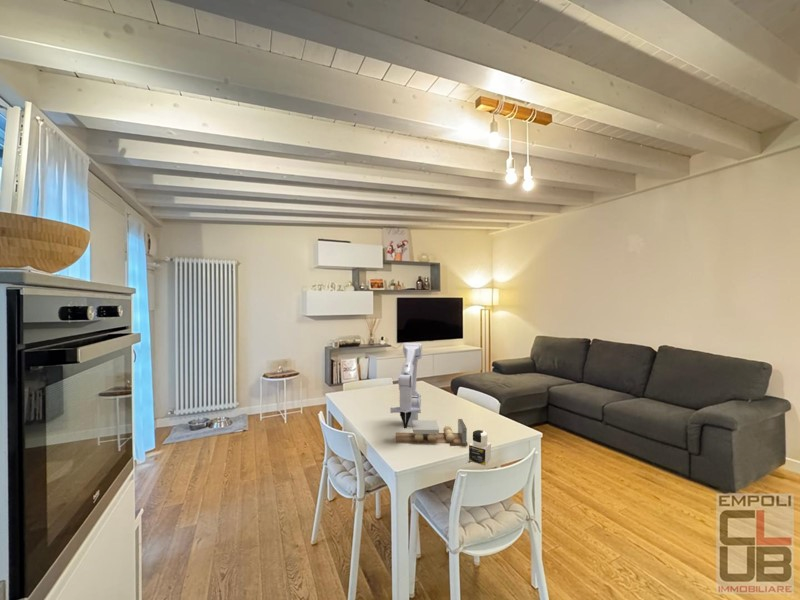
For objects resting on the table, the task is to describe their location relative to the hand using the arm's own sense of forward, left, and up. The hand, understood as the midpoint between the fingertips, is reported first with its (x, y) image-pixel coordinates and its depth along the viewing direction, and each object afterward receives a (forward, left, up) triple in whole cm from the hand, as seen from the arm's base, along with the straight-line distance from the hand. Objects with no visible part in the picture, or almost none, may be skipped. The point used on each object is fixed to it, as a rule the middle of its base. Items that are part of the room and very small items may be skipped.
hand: (405, 427), depth 162 cm
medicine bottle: (+20, +31, -6) cm, 38 cm away
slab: (0, +10, -1) cm, 10 cm away
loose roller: (0, +21, -5) cm, 21 cm away
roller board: (0, +12, -6) cm, 13 cm away
